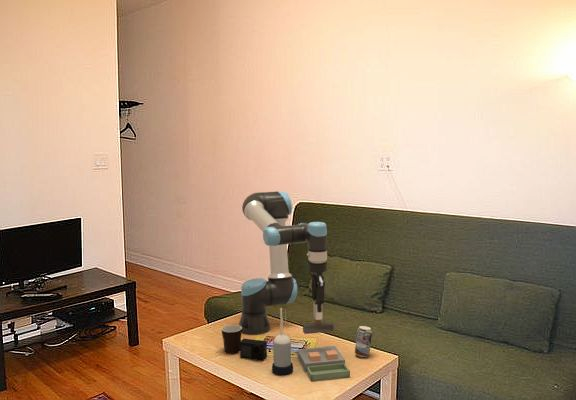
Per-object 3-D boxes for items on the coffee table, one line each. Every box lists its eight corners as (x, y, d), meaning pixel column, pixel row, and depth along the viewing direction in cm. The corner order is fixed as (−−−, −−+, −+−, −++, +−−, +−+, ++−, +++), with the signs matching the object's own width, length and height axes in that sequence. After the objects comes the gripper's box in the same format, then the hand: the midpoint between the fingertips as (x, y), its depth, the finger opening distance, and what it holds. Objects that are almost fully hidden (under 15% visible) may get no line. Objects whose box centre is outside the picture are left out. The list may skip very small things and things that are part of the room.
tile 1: (308, 357, 201) (308, 352, 201) (317, 356, 202) (317, 351, 202) (310, 361, 197) (310, 356, 197) (320, 360, 198) (320, 355, 198)
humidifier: (275, 365, 202) (274, 304, 199) (295, 368, 200) (295, 306, 197) (268, 374, 195) (267, 311, 192) (289, 377, 192) (288, 313, 189)
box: (306, 372, 195) (306, 366, 195) (344, 369, 198) (344, 362, 198) (311, 381, 189) (311, 374, 188) (350, 377, 191) (349, 370, 191)
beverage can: (351, 356, 210) (351, 328, 209) (362, 350, 216) (362, 323, 214) (364, 360, 206) (364, 331, 205) (374, 354, 211) (374, 326, 210)
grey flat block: (297, 357, 209) (297, 349, 209) (334, 353, 212) (334, 345, 212) (305, 372, 196) (305, 363, 195) (345, 368, 199) (345, 359, 198)
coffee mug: (239, 356, 212) (238, 332, 211) (219, 354, 213) (218, 331, 212) (246, 345, 223) (246, 323, 222) (228, 343, 225) (227, 321, 224)
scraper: (303, 331, 207) (302, 300, 205) (331, 328, 209) (331, 298, 208) (304, 334, 204) (304, 302, 202) (333, 331, 206) (333, 300, 205)
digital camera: (238, 359, 209) (238, 342, 208) (243, 354, 214) (243, 338, 213) (262, 362, 205) (261, 345, 205) (266, 357, 211) (266, 340, 210)
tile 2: (325, 355, 203) (325, 350, 202) (334, 354, 203) (334, 349, 203) (328, 359, 199) (328, 354, 198) (337, 358, 199) (337, 353, 199)
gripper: (304, 257, 210) (304, 313, 212) (313, 265, 195) (313, 325, 198) (321, 256, 211) (322, 311, 214) (331, 264, 197) (332, 323, 199)
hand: (318, 318), depth 206 cm, fingers closed on scraper, 2 cm apart
